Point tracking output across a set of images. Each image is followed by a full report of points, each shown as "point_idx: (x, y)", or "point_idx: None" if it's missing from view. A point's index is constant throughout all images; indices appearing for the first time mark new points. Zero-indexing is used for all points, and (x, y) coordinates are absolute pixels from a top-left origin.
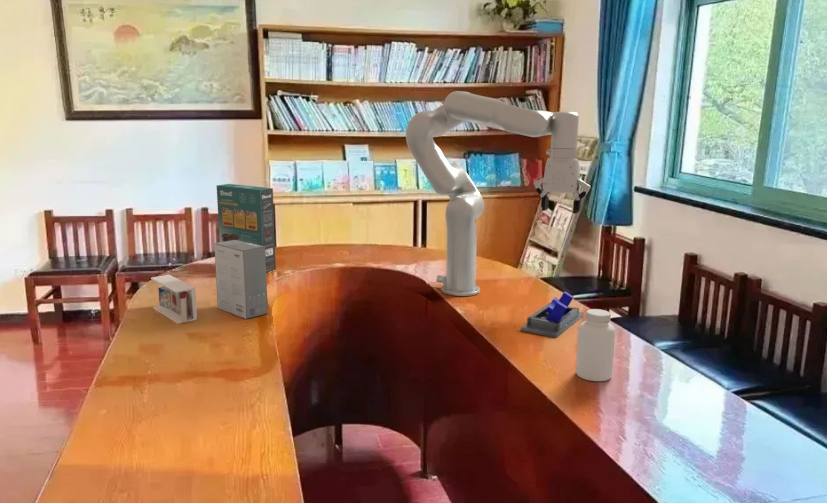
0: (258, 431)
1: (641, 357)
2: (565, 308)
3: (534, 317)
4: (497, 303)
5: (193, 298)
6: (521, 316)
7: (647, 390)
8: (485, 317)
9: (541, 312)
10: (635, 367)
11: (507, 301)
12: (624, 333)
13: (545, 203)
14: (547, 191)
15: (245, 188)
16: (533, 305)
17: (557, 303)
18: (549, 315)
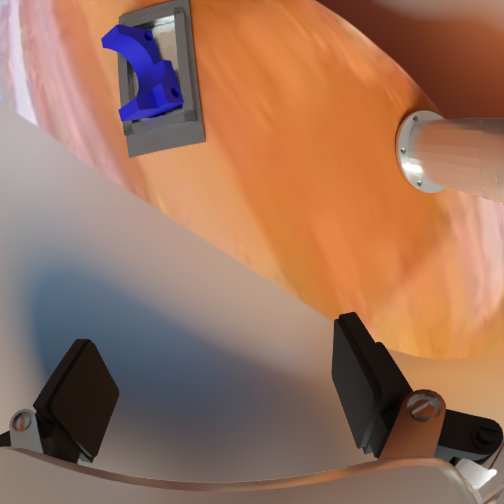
0: None
1: (12, 67)
2: (103, 38)
3: (174, 21)
4: (328, 111)
5: None
6: (234, 62)
7: (5, 8)
8: (290, 18)
9: (177, 53)
10: (14, 36)
11: (319, 138)
12: (46, 128)
13: (352, 369)
14: (368, 464)
15: None
16: (255, 148)
17: (116, 26)
18: (141, 29)
